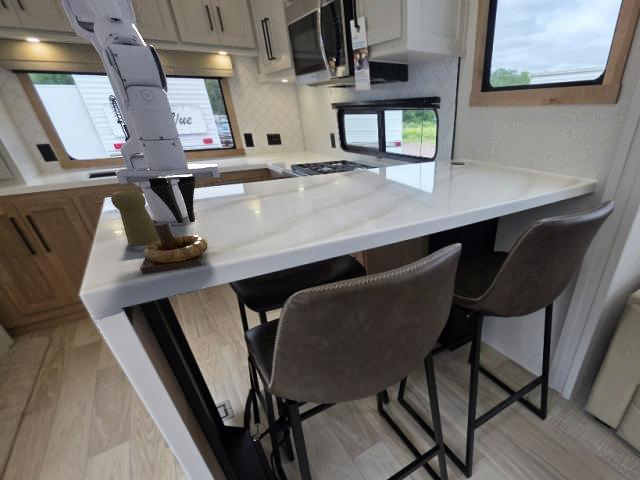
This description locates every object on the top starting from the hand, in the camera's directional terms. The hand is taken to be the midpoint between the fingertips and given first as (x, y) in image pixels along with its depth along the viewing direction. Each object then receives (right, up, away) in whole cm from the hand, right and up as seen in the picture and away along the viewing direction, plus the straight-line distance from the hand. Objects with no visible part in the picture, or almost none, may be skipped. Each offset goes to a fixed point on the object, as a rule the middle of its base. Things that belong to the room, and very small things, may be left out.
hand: (186, 221), depth 60 cm
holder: (-4, -7, +2) cm, 8 cm away
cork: (-14, -3, +9) cm, 16 cm away
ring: (-3, -5, +1) cm, 6 cm away
